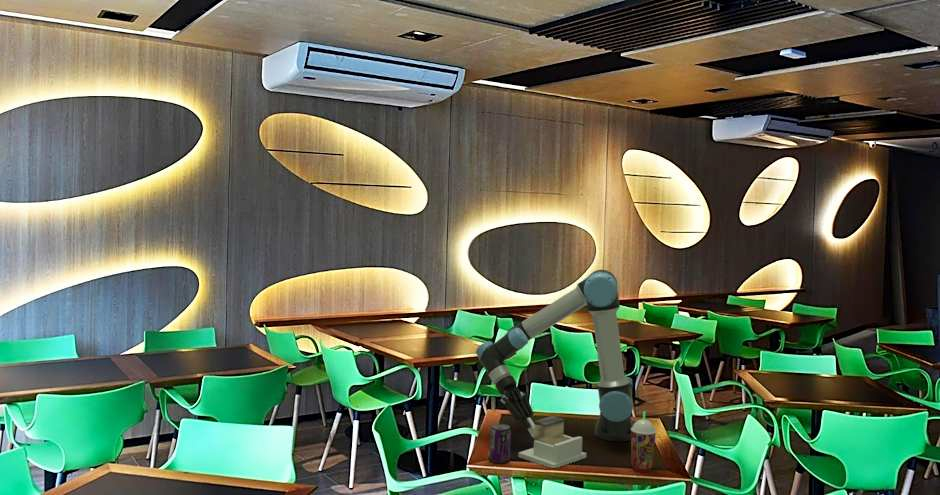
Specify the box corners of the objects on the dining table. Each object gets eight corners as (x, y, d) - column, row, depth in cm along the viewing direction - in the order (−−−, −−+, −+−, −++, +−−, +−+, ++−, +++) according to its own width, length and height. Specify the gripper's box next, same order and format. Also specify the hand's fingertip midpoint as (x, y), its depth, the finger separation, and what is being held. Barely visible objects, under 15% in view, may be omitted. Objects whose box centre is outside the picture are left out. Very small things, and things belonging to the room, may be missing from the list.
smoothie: (649, 475, 263) (652, 416, 261) (625, 470, 267) (628, 412, 266) (657, 468, 270) (660, 410, 268) (634, 463, 274) (636, 406, 273)
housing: (518, 456, 278) (519, 435, 277) (551, 445, 290) (551, 425, 290) (553, 469, 266) (554, 447, 266) (586, 457, 279) (587, 436, 278)
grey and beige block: (533, 451, 278) (534, 421, 277) (551, 445, 285) (552, 415, 284) (544, 455, 274) (545, 424, 273) (563, 449, 281) (564, 419, 281)
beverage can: (508, 465, 269) (509, 430, 268) (487, 463, 271) (488, 428, 270) (511, 458, 276) (512, 424, 275) (491, 456, 278) (492, 422, 277)
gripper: (509, 383, 300) (541, 436, 290) (485, 388, 291) (517, 444, 281) (520, 371, 296) (553, 426, 286) (496, 377, 287) (529, 433, 277)
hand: (535, 435), depth 283 cm, fingers closed
